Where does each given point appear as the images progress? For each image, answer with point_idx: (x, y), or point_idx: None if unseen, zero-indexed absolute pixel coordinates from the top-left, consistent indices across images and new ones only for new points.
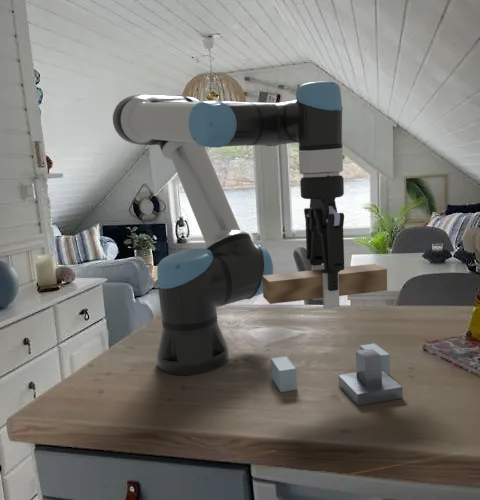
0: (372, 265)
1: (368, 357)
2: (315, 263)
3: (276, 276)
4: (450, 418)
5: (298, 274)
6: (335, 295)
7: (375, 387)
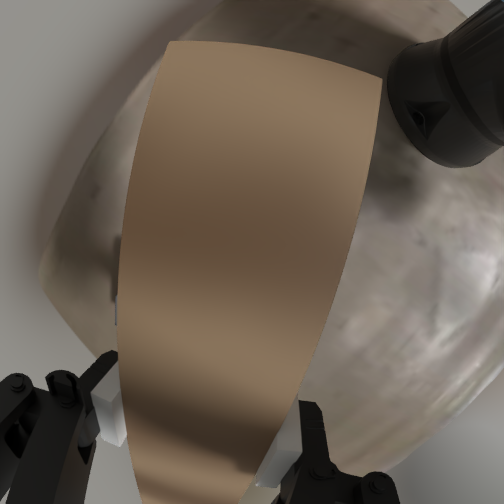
0: None
1: (116, 302)
2: (292, 473)
3: (285, 143)
4: (79, 316)
5: (232, 323)
6: None
7: None
